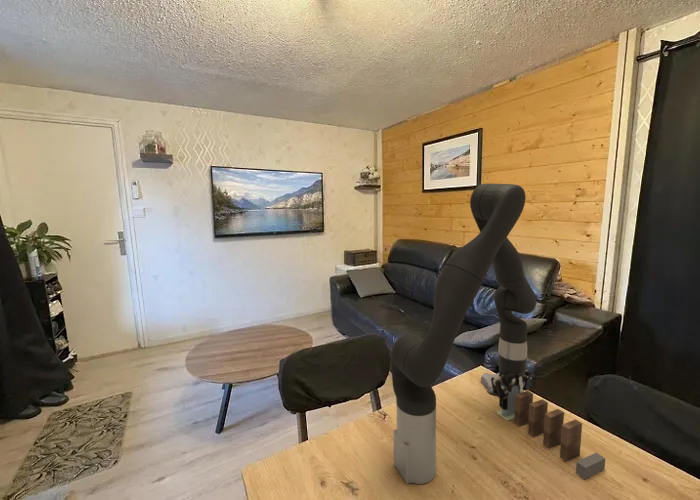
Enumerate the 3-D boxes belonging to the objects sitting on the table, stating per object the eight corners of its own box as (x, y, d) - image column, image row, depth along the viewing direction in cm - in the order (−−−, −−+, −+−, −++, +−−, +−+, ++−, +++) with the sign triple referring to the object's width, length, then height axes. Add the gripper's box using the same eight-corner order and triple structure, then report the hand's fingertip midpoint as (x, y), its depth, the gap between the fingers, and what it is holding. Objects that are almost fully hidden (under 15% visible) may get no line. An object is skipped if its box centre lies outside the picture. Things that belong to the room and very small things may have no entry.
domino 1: (506, 415, 93) (507, 387, 92) (501, 412, 95) (502, 385, 94) (518, 411, 95) (519, 383, 94) (514, 408, 97) (515, 381, 95)
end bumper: (584, 479, 72) (585, 468, 72) (575, 473, 74) (576, 461, 73) (604, 469, 74) (605, 458, 74) (595, 463, 76) (596, 452, 76)
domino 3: (533, 437, 85) (534, 407, 84) (527, 433, 87) (529, 403, 86) (546, 432, 87) (547, 402, 86) (540, 428, 89) (542, 399, 87)
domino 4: (548, 449, 81) (550, 417, 80) (542, 445, 83) (544, 413, 81) (562, 443, 83) (564, 412, 82) (556, 439, 84) (558, 408, 83)
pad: (506, 420, 92) (506, 420, 92) (496, 412, 96) (496, 412, 96) (524, 414, 95) (524, 413, 95) (513, 406, 98) (513, 406, 98)
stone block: (526, 401, 104) (512, 379, 113) (528, 390, 102) (514, 368, 111) (490, 403, 104) (479, 381, 114) (491, 391, 103) (479, 370, 112)
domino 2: (518, 426, 90) (520, 397, 88) (514, 423, 91) (515, 394, 90) (531, 422, 91) (533, 393, 90) (526, 418, 93) (528, 390, 91)
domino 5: (565, 462, 77) (568, 428, 76) (559, 457, 78) (561, 424, 77) (579, 455, 79) (582, 423, 77) (573, 451, 80) (575, 419, 79)
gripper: (504, 364, 87) (502, 420, 89) (541, 353, 92) (538, 407, 94) (483, 352, 94) (482, 405, 96) (519, 343, 99) (517, 393, 101)
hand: (510, 405), depth 95 cm, fingers closed on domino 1, 4 cm apart
